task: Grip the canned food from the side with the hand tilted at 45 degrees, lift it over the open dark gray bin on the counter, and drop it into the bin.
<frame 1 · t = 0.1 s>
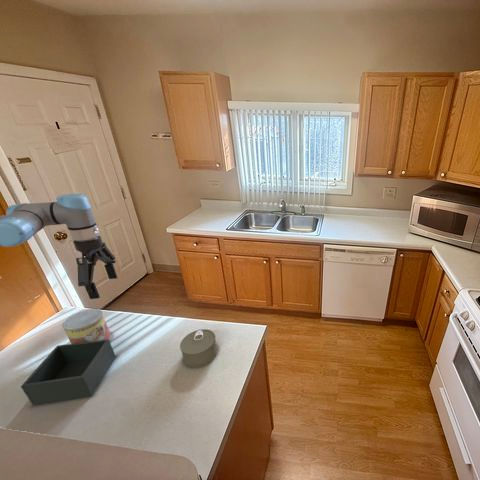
hand: (104, 287, 99), 21 cm above the counter, tool pointing down, fingers open, 13 cm apart
open dark gray bin: (78, 378, 86), on the counter
canned food: (93, 342, 100), on the counter
can: (200, 354, 97), on the counter
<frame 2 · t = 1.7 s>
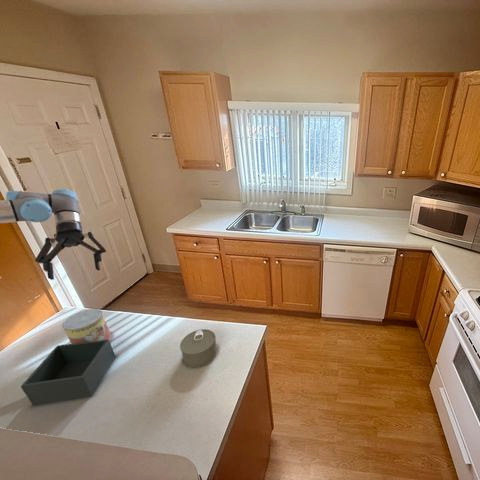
hand: (75, 273, 98), 26 cm above the counter, tool tilted 45°, fingers open, 13 cm apart
nothing on the counter moved.
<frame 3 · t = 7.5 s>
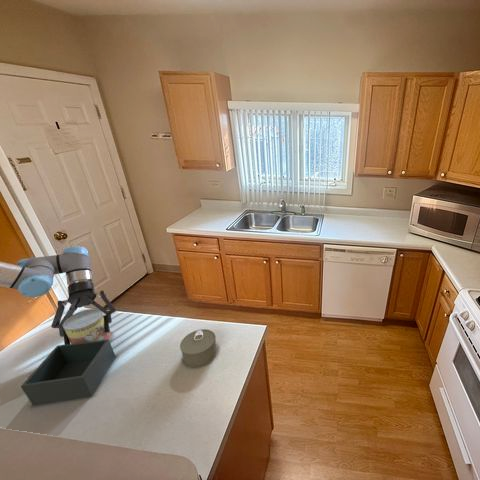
hand: (88, 338, 96), 5 cm above the counter, tool tilted 45°, fingers closed on canned food, 11 cm apart
canned food: (93, 342, 100), on the counter, touching gripper
everything else where it was.
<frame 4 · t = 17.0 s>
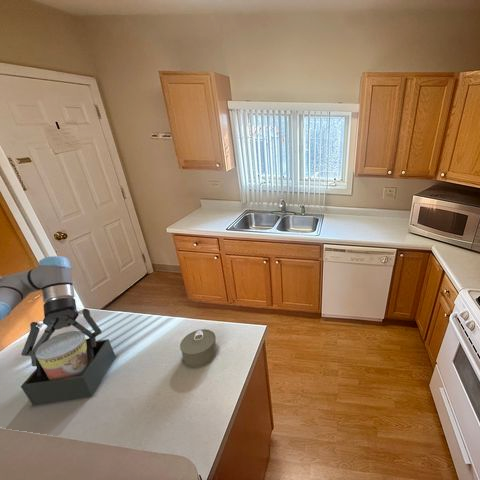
hand: (67, 366, 80), 9 cm above the counter, tool tilted 45°, fingers closed on canned food, 11 cm apart
canned food: (74, 371, 84), point 4 cm above the counter, touching gripper
everything else where it was.
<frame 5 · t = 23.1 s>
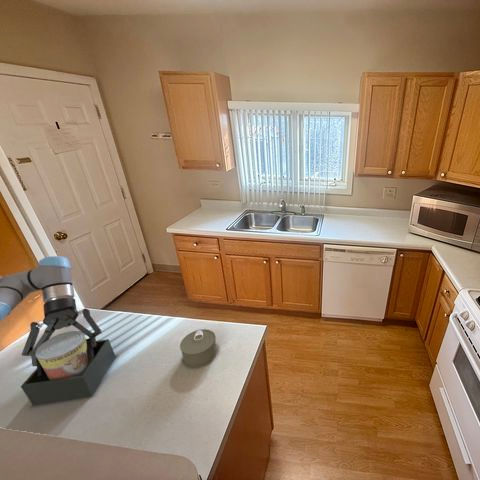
hand: (67, 366, 80), 9 cm above the counter, tool tilted 45°, fingers closed on canned food, 11 cm apart
canned food: (74, 371, 84), point 4 cm above the counter, touching gripper
everything else where it was.
when the fingers open (10 cm above the counter, at t = 28.8 s): canned food drops 4 cm, resting on open dark gray bin.
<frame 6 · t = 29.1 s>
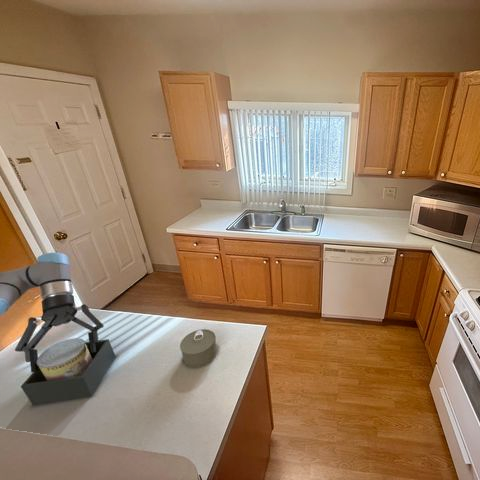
hand: (65, 361, 80), 11 cm above the counter, tool tilted 45°, fingers open, 13 cm apart
canned food: (75, 378, 85), point 1 cm above the counter, touching open dark gray bin
everything else where it was.
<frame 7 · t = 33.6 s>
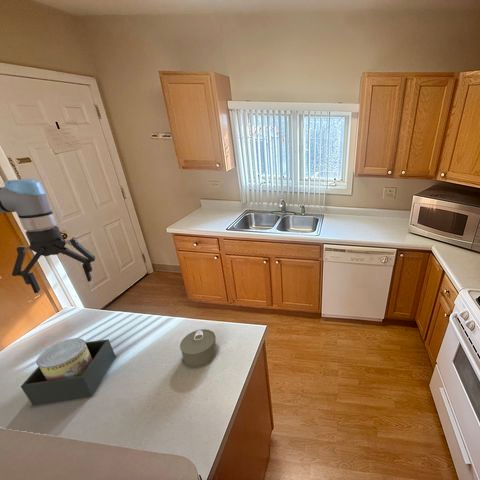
hand: (64, 285, 89), 27 cm above the counter, tool pointing down, fingers open, 13 cm apart
nothing on the counter moved.
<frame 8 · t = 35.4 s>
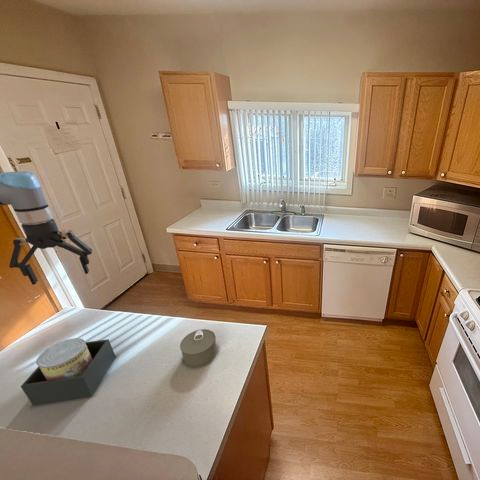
hand: (62, 277, 90), 29 cm above the counter, tool pointing down, fingers open, 13 cm apart
nothing on the counter moved.
at the end: canned food inside the target area in the open dark gray bin (0.7 cm from its centre), point 0.6 cm above the open dark gray bin's base; the gripper is holding nothing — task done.
